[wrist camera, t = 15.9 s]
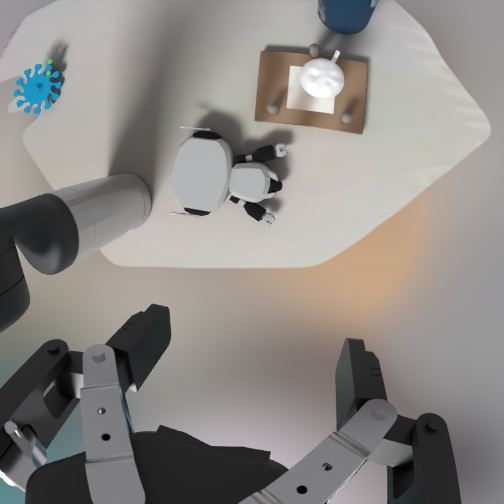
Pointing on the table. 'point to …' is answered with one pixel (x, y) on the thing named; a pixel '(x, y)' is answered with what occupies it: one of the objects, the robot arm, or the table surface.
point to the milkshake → (322, 79)
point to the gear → (38, 87)
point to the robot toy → (222, 176)
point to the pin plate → (297, 101)
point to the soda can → (346, 14)
